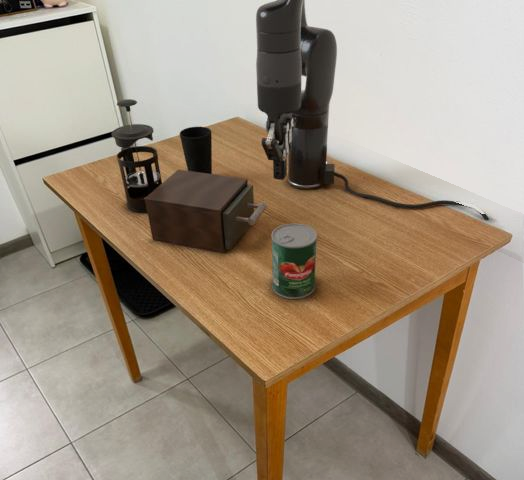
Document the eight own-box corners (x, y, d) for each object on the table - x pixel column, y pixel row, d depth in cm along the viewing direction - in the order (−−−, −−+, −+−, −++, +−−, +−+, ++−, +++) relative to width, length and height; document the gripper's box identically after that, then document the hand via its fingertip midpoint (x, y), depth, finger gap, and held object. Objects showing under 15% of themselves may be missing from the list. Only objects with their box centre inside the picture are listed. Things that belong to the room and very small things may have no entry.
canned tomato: (294, 269, 98) (295, 218, 91) (323, 287, 94) (327, 234, 86) (263, 286, 94) (261, 234, 87) (292, 305, 90) (293, 252, 83)
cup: (214, 186, 126) (209, 137, 118) (184, 187, 126) (177, 138, 118) (217, 173, 132) (212, 126, 124) (188, 174, 132) (181, 126, 124)
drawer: (272, 221, 111) (271, 187, 105) (249, 252, 102) (247, 217, 96) (191, 208, 116) (187, 175, 111) (163, 237, 107) (157, 203, 102)
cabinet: (249, 219, 113) (247, 178, 107) (223, 253, 103) (219, 210, 97) (183, 209, 118) (178, 169, 111) (152, 240, 108) (144, 198, 101)
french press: (175, 205, 119) (159, 101, 104) (140, 218, 115) (117, 112, 100) (150, 188, 126) (132, 89, 111) (116, 200, 122) (92, 99, 106)
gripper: (288, 92, 79) (288, 195, 91) (311, 68, 88) (308, 166, 100) (243, 88, 81) (249, 190, 93) (271, 66, 90) (273, 161, 102)
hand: (280, 177), depth 96 cm, fingers closed
